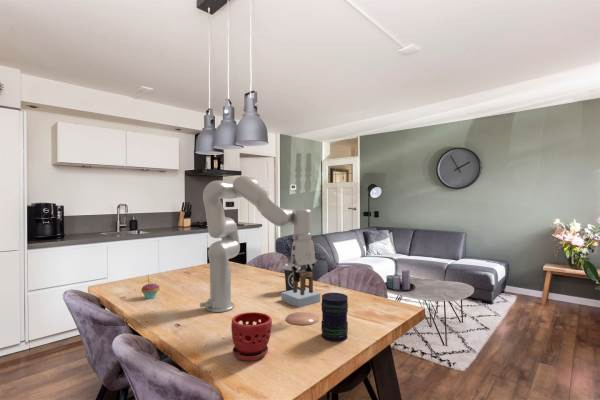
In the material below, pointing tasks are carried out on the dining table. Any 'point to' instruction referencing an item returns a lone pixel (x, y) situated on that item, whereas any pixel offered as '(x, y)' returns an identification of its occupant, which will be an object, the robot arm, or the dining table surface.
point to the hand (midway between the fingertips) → (302, 279)
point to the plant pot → (251, 335)
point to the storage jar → (334, 317)
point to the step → (300, 298)
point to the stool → (303, 282)
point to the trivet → (302, 318)
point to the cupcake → (150, 290)
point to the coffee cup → (289, 277)
